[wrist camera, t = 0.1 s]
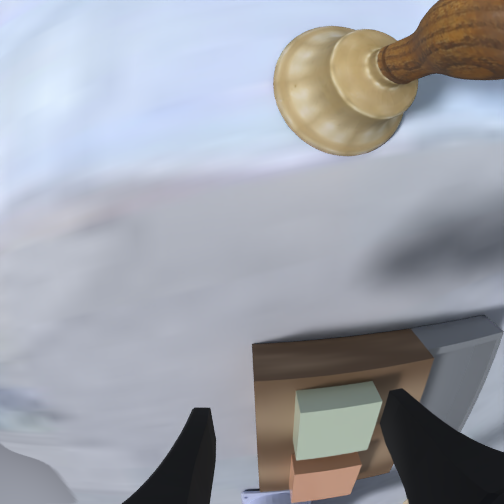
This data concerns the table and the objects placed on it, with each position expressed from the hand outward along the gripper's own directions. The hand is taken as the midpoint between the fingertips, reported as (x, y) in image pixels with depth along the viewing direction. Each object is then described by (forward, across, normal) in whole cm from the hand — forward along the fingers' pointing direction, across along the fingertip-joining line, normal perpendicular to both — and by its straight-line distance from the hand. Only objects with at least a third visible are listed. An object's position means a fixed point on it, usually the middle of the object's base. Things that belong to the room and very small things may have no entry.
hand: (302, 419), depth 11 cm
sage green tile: (+6, -3, +6) cm, 9 cm away
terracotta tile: (+6, -3, +13) cm, 15 cm away
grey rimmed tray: (+10, -14, +10) cm, 20 cm away
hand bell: (+10, -4, -14) cm, 18 cm away
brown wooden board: (+10, -4, +10) cm, 15 cm away
